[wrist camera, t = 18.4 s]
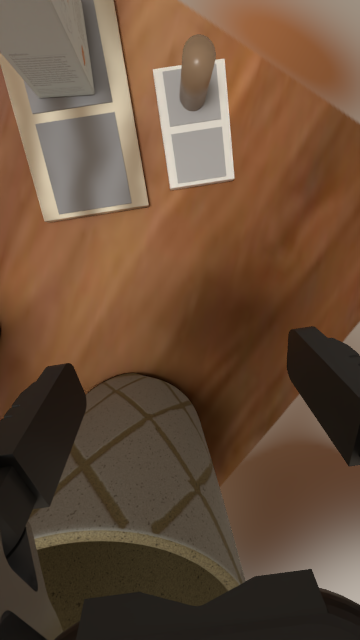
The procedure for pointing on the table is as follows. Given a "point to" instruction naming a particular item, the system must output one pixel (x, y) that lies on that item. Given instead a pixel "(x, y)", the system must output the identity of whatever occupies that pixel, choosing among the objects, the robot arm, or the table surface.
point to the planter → (136, 505)
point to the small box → (47, 45)
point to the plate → (195, 117)
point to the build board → (83, 132)
